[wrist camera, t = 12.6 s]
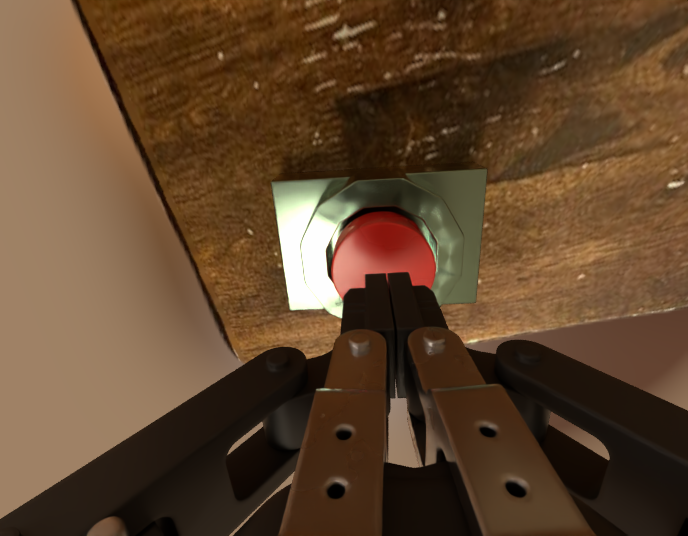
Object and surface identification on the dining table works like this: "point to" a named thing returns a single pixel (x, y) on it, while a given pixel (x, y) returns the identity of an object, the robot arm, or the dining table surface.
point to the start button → (381, 251)
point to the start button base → (372, 196)
